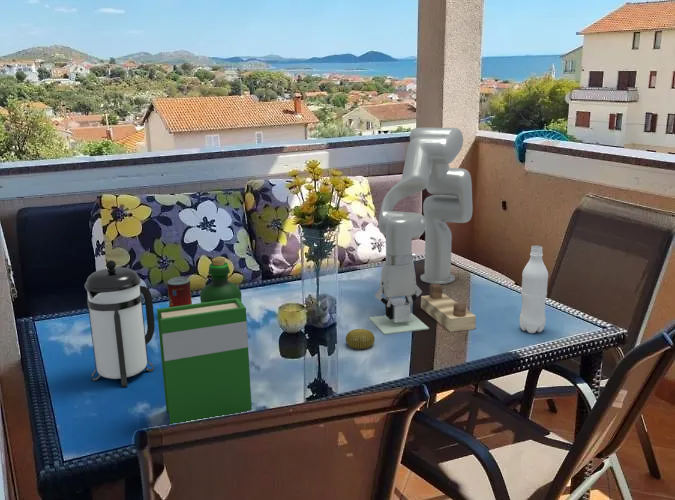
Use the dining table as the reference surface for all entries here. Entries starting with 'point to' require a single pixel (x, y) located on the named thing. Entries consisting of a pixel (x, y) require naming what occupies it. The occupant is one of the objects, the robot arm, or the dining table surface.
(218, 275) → the bottle
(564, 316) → the dining table surface
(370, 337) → the sculpture
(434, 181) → the robot arm
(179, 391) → the hardback book
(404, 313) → the grey block
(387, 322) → the mat
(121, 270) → the coffee press
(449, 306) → the hand plane
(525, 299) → the water bottle
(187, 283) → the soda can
